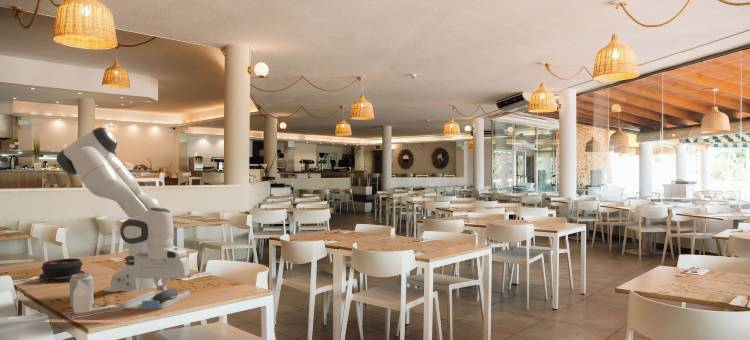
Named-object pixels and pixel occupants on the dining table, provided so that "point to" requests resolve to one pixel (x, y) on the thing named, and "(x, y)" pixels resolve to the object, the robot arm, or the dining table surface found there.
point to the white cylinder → (82, 298)
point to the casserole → (61, 269)
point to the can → (85, 279)
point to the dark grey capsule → (165, 295)
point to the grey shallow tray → (151, 301)
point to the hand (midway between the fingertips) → (161, 290)
